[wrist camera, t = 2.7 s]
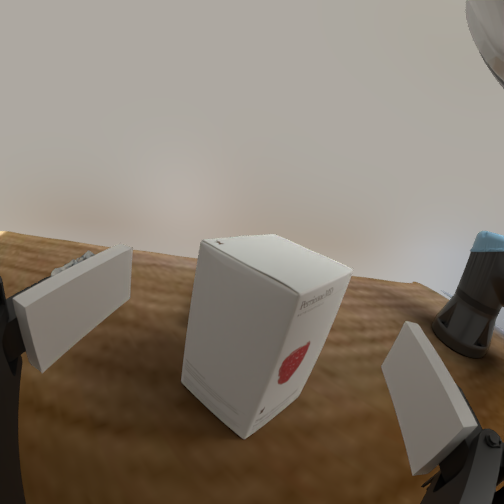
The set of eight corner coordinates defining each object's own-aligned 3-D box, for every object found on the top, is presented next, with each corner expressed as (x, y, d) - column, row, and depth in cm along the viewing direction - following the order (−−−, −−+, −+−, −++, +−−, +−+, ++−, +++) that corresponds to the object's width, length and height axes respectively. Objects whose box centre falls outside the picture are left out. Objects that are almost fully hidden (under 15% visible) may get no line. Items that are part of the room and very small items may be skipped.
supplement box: (243, 443, 19) (300, 294, 14) (178, 382, 24) (196, 236, 19) (302, 396, 26) (357, 268, 21) (241, 353, 31) (272, 231, 26)
